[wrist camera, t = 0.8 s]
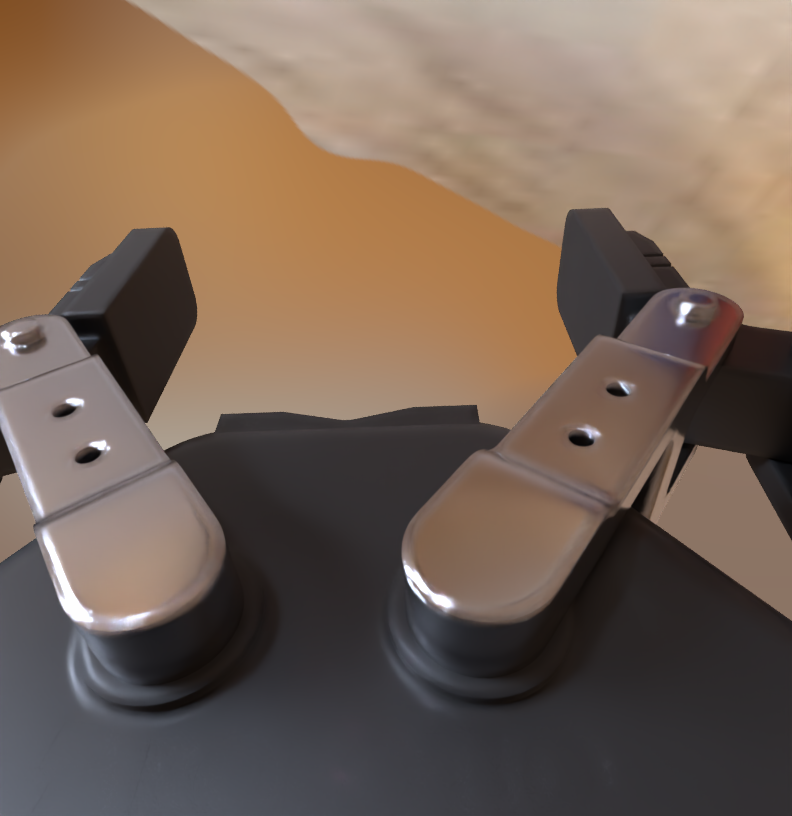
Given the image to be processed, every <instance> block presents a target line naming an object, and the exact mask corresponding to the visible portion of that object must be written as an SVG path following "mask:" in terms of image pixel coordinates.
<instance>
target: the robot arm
mask: <svg viewBox="0 0 792 816" xmlns="http://www.w3.org/2000/svg"><path fill="white" fill-rule="evenodd" d="M557 302H558V309H559V312H560V315H561V317H562V320H563V322H564V325H565V327H566V330H567V332H568V334H569V337H570V339H571V342H572V344H573V347H574V349H575V352H576V354H577V357H576V358H575V360H574V361H573V362H572V363H571V364H570V365H569V366H568V367H567V368H566V369H565V371H564V372H563V373H562V374H561V375H560V376H559V377H558V378H557V379H556V381H555V382H554V383H553V384H552V385H551V386H550V387H549V388H548V390H547V391H546V392H545V393H544V394H543V395H542V396H541V397H540V398H539V399H538V401H537V402H536V403H535V404H534V405H533V406H532V407H531V408H530V409H529V410H528V412H527V413H526V414H525V415H524V416H523V417H522V418H521V419H520V420H519V422H518V423H517V424H516V425H515V426H514V427H513V428H512V429H511V430H509V429H507V428H504V427H499V426H495V425H491V424H485V423H480V422H479V416H478V410H477V405H461V406H433V407H412V408H407V409H402V410H397V411H393V412H388V413H383V414H378V415H373V416H368V417H363V418H359V419H354V420H337V419H330V418H323V417H315V416H308V415H301V414H294V413H286V412H270V413H242V414H221V416H220V419H219V422H218V425H217V428H216V430H215V432H214V433H210V434H205V435H202V436H198V437H195V438H192V439H189V440H187V441H184V442H181V443H179V444H177V445H175V446H173V447H170V448H168V449H166V450H163V449H162V447H161V446H160V444H159V443H158V441H157V440H156V439H155V437H154V436H153V434H152V433H151V431H150V430H149V428H148V427H147V426H146V424H145V423H147V422H148V421H149V418H150V416H151V414H152V412H153V410H154V408H155V406H156V404H157V402H158V400H159V398H160V396H161V394H162V392H163V390H164V388H165V386H166V384H167V382H168V380H169V378H170V376H171V374H172V372H173V370H174V368H175V366H176V364H177V362H178V360H179V358H180V356H181V353H182V352H183V349H184V348H185V346H186V343H187V341H188V339H189V337H190V335H191V333H192V331H193V329H194V327H195V325H196V320H197V304H196V298H195V295H194V291H193V288H192V284H191V281H190V277H189V274H188V270H187V267H186V263H185V260H184V256H183V253H182V250H181V246H180V243H179V239H178V237H177V235H176V233H175V232H174V230H173V229H172V228H169V227H168V228H146V229H133V230H132V231H131V232H130V233H129V234H128V235H127V236H126V238H125V239H124V240H123V241H122V242H121V243H120V245H119V246H118V247H117V248H116V249H115V251H114V252H113V253H112V254H109V255H108V256H106V257H104V258H103V259H101V260H99V261H98V262H96V263H94V264H93V265H91V266H90V267H89V268H88V270H87V271H86V272H85V273H84V274H83V275H82V276H81V278H80V281H77V282H76V283H75V284H74V285H73V287H72V288H71V291H70V292H67V293H66V294H65V296H64V297H63V298H62V299H61V300H60V301H59V302H58V304H57V305H56V306H55V307H54V308H53V309H52V310H51V312H50V313H49V314H48V315H46V314H45V315H34V316H28V317H24V318H20V319H17V320H14V321H11V322H8V323H6V324H4V325H1V326H0V483H1V481H2V477H3V476H5V475H9V474H12V473H18V476H19V478H20V481H21V484H22V486H23V489H24V492H25V494H26V497H27V499H28V502H29V505H30V508H31V510H32V512H33V515H34V518H35V521H36V524H34V526H33V527H34V532H35V535H36V539H34V540H33V541H31V542H30V543H28V544H27V545H26V546H24V547H23V548H21V549H20V550H18V551H17V552H15V553H14V554H13V555H11V556H10V557H8V558H7V559H5V560H4V561H3V562H1V563H0V816H792V621H791V620H790V619H788V618H787V617H785V616H784V615H783V614H781V613H780V612H778V611H777V610H775V609H774V608H773V607H771V606H770V605H769V604H767V603H766V602H764V601H763V600H761V599H760V598H758V597H757V596H756V595H754V594H753V593H752V592H750V591H749V590H747V589H746V588H745V587H743V586H742V585H740V584H739V583H737V582H736V581H735V580H733V579H732V578H730V577H729V576H728V575H726V574H725V573H723V572H722V571H721V570H719V569H718V568H716V567H715V566H714V565H712V564H711V563H709V562H708V561H707V560H705V559H704V558H702V557H701V556H700V555H698V554H697V553H695V552H694V551H693V550H691V549H689V548H688V547H687V546H685V545H684V544H683V543H681V542H680V541H678V540H677V539H676V538H674V537H673V536H671V535H670V534H669V533H667V532H666V531H664V530H663V529H662V528H660V527H659V526H657V522H658V520H659V518H660V516H661V514H662V512H663V510H664V508H665V507H666V505H667V503H668V501H669V499H670V497H671V495H672V494H673V492H674V490H675V488H676V486H677V485H678V483H679V481H680V479H681V477H682V475H683V474H684V472H685V470H686V468H687V466H688V464H689V463H690V461H691V459H692V457H693V455H694V454H695V451H696V449H697V446H698V445H700V446H705V447H711V448H716V449H722V450H727V451H732V452H738V453H743V454H746V458H747V460H748V462H749V464H750V466H751V468H752V470H753V471H754V473H755V475H756V477H757V478H758V480H759V482H760V484H761V486H762V488H763V489H764V491H765V493H766V495H767V497H768V499H769V500H770V502H771V504H772V506H773V508H774V509H775V511H776V513H777V515H778V517H779V518H780V520H781V522H782V524H783V526H784V527H785V529H786V531H787V533H788V535H789V536H790V538H791V540H792V332H790V331H782V330H774V329H766V328H758V327H752V326H747V325H743V324H742V321H743V318H744V313H743V311H742V309H741V308H740V306H739V305H738V304H736V303H735V302H734V301H732V300H731V299H729V298H727V297H725V296H723V295H720V294H718V293H715V292H711V291H707V290H702V289H695V288H690V287H689V286H688V285H687V283H686V282H685V281H684V280H683V278H682V277H681V276H680V275H679V273H678V272H677V271H676V269H675V268H674V267H671V263H670V262H669V261H668V259H667V258H666V257H665V256H663V253H662V252H661V250H660V249H659V248H658V247H657V245H656V244H655V243H654V242H653V241H652V240H650V239H648V238H646V237H644V236H643V235H641V234H639V233H637V232H635V231H625V230H624V228H623V227H622V225H621V224H620V223H619V221H618V220H617V219H616V217H615V216H614V214H613V213H612V212H611V210H610V209H609V208H594V209H572V210H570V211H569V212H568V215H567V218H566V222H565V229H564V236H563V244H562V251H561V259H560V267H559V274H558V282H557Z"/></svg>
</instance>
